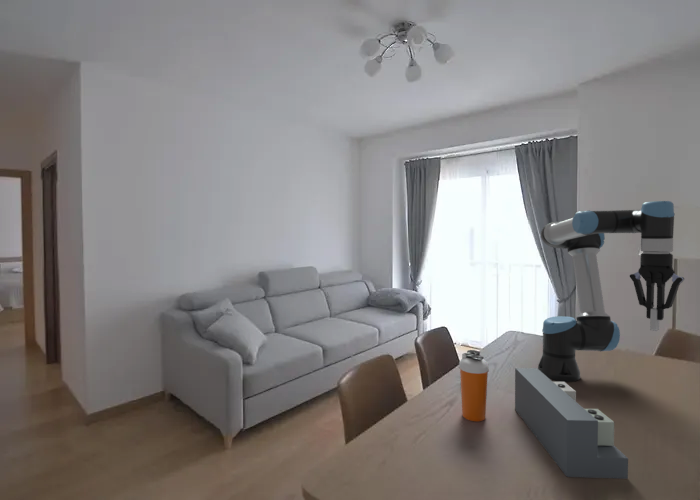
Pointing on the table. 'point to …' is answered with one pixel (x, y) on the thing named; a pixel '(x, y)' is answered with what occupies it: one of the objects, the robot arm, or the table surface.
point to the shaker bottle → (473, 386)
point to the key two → (603, 427)
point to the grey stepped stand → (565, 428)
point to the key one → (567, 389)
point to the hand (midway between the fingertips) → (654, 329)
